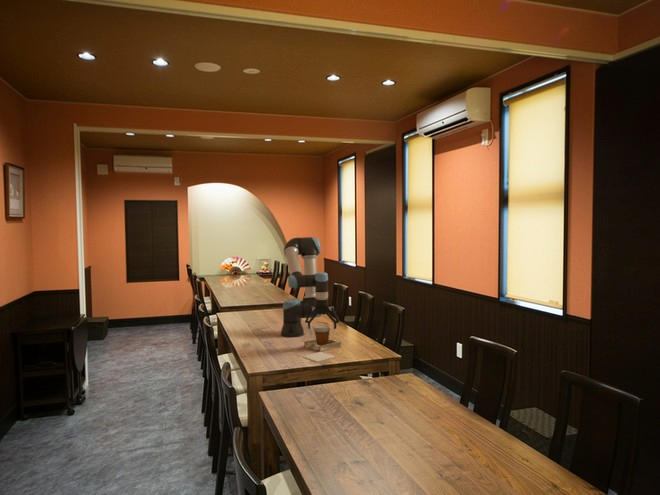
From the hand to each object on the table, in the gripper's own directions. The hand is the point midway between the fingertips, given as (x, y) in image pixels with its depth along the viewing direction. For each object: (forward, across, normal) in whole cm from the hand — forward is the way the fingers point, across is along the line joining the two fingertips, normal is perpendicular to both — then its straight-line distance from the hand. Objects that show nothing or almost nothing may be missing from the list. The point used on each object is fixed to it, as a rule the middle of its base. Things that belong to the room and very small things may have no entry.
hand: (322, 334), depth 277 cm
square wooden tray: (+8, 0, 0) cm, 8 cm away
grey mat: (+8, 0, -21) cm, 22 cm away
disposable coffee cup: (+8, 0, 0) cm, 8 cm away
